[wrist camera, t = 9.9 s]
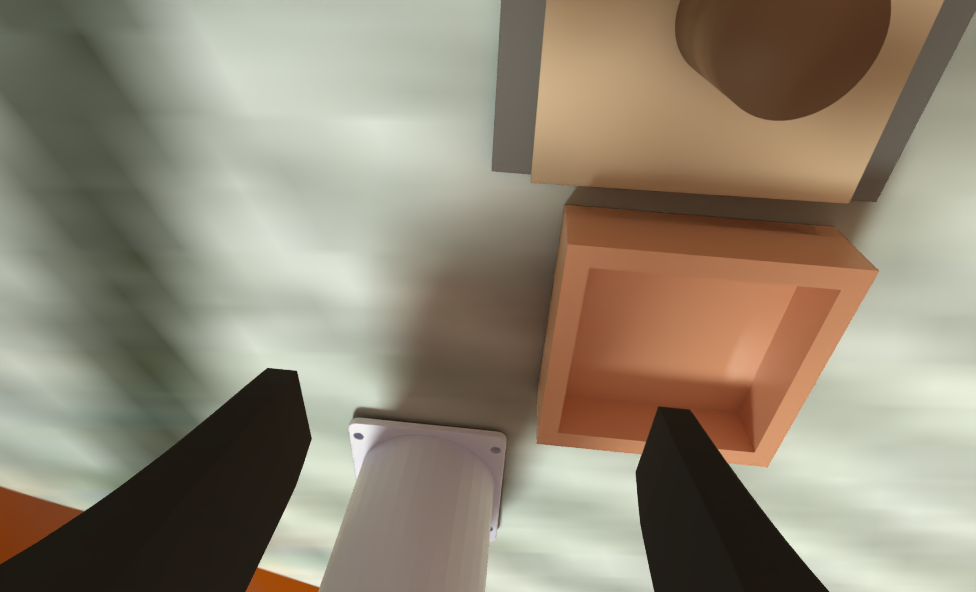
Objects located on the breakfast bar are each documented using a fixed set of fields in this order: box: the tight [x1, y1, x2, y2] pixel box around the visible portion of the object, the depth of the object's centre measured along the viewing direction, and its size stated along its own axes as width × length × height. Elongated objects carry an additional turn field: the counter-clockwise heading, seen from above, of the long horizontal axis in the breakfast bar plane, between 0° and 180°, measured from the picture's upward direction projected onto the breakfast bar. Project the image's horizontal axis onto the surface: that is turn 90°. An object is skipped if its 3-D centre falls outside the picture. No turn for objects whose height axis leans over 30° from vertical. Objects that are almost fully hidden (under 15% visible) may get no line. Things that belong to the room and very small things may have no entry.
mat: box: [492, 0, 976, 202], centre depth 15 cm, size 11×13×1 cm
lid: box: [531, 0, 944, 204], centre depth 13 cm, size 10×10×5 cm
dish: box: [537, 205, 879, 467], centre depth 20 cm, size 10×10×3 cm
